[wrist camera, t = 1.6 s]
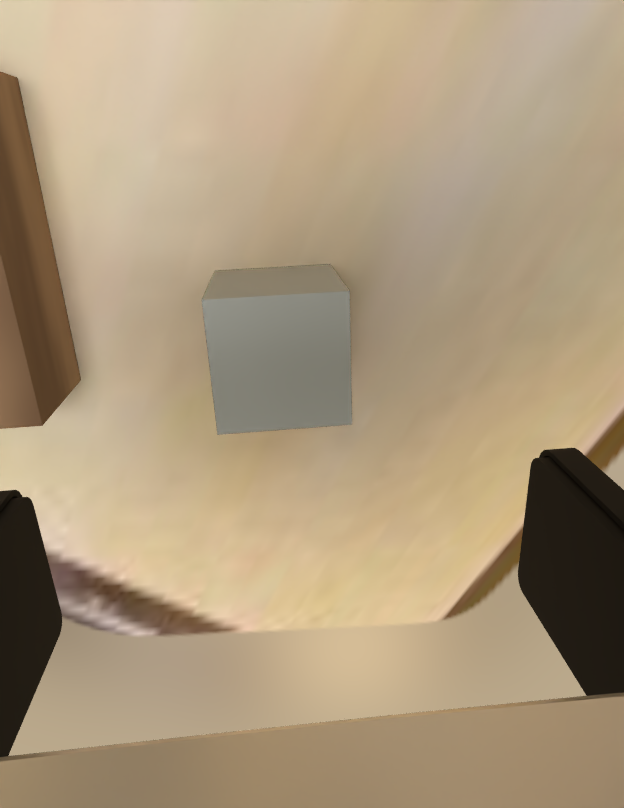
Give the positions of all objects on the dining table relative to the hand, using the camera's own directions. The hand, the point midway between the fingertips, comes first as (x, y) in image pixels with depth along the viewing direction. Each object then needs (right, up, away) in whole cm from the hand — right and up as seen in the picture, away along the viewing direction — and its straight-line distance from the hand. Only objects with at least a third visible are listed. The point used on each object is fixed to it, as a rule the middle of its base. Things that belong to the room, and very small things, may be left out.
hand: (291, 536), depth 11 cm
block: (-1, +6, +15) cm, 16 cm away
